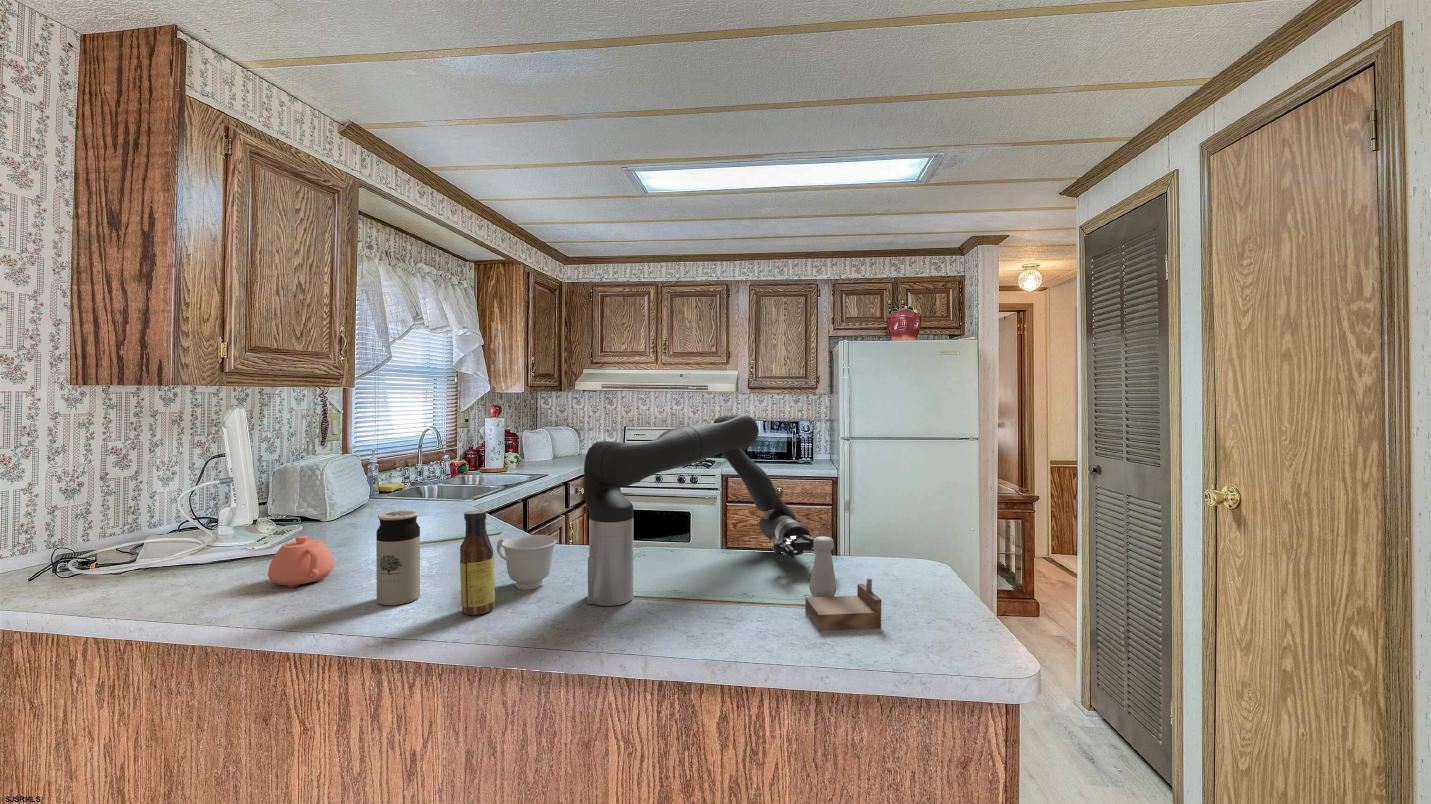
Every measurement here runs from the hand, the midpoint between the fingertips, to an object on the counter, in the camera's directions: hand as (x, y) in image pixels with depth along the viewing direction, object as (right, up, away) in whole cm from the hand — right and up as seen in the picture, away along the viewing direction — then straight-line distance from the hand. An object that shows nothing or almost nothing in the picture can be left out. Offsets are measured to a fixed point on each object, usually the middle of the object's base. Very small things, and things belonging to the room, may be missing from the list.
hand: (810, 553), depth 133 cm
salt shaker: (+1, -7, -9) cm, 12 cm away
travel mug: (-88, -7, -12) cm, 89 cm away
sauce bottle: (-69, -7, -18) cm, 72 cm away
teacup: (-65, -7, -2) cm, 66 cm away
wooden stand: (+3, -7, -21) cm, 22 cm away
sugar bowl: (-116, -6, -1) cm, 116 cm away
